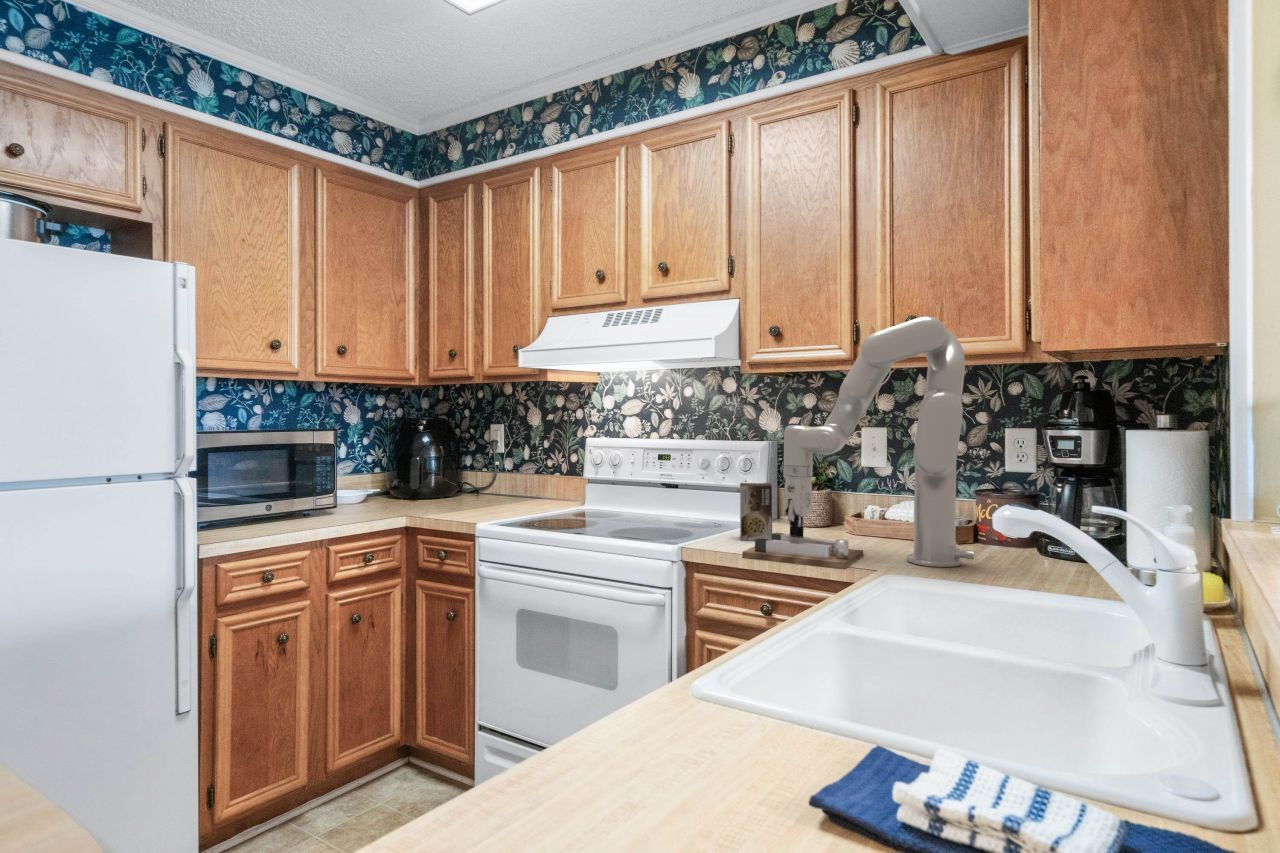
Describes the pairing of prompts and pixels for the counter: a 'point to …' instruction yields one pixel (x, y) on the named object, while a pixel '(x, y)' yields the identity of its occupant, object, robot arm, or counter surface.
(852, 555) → the cutting board
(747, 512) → the printed cardboard box
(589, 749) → the counter surface
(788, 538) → the arm
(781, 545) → the tongs fixed
